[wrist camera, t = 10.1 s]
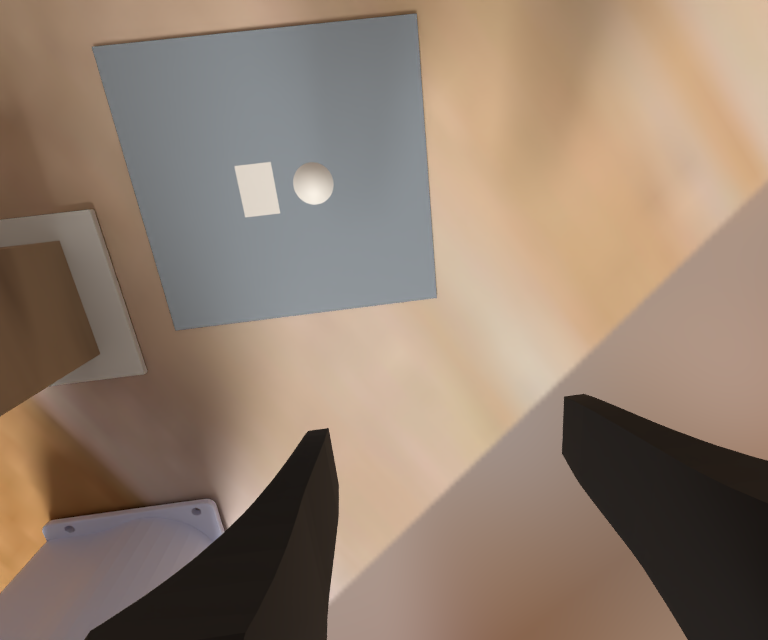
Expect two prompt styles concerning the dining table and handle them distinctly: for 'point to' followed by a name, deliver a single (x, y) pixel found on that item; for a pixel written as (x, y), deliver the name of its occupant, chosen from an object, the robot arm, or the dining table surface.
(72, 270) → the rubber mat
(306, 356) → the dining table surface
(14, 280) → the walnut block
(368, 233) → the blue-gray square plate
